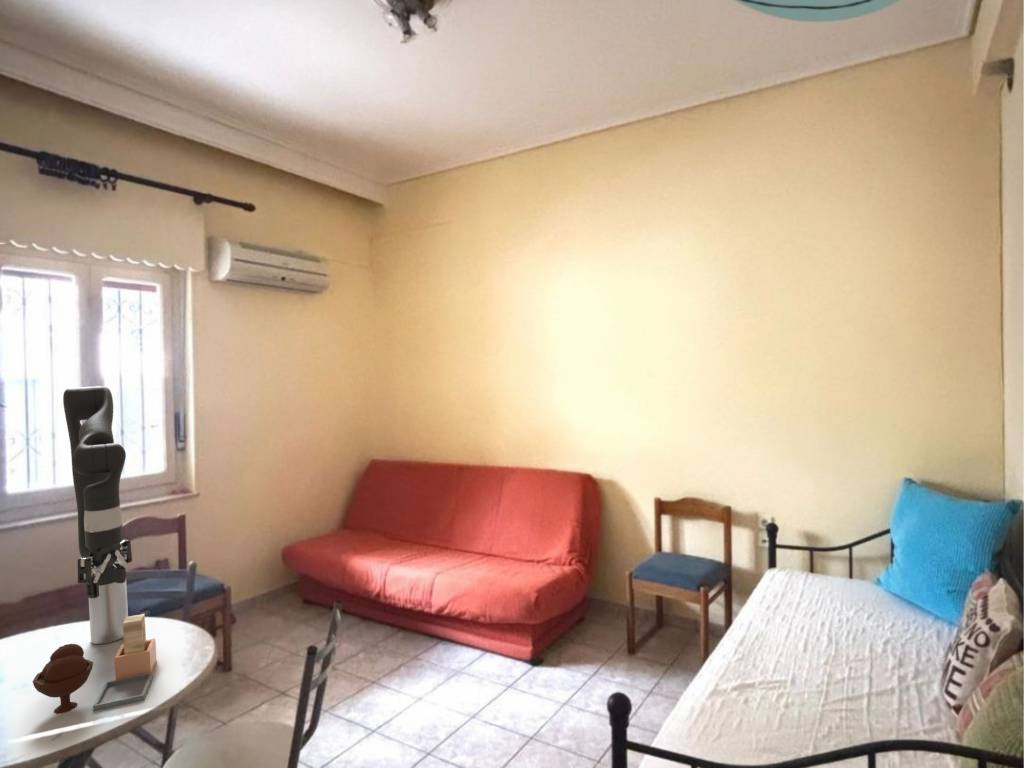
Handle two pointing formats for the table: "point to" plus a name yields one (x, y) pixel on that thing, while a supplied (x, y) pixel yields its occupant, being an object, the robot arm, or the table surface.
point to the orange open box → (135, 661)
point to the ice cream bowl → (64, 675)
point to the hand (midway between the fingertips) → (107, 589)
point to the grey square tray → (123, 691)
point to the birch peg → (134, 634)
